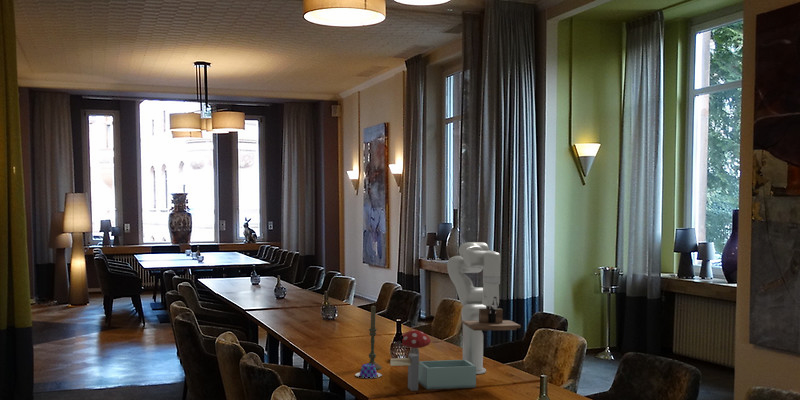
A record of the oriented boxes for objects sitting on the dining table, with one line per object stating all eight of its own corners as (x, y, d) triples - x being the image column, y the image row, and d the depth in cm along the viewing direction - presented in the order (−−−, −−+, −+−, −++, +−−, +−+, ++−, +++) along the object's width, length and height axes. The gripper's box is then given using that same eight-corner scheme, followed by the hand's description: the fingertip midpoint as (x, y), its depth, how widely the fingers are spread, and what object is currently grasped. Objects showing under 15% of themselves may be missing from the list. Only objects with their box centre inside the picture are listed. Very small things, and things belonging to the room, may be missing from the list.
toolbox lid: (462, 325, 328) (462, 307, 328) (509, 325, 333) (509, 306, 333) (471, 331, 315) (472, 311, 315) (520, 330, 319) (521, 311, 319)
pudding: (374, 380, 327) (374, 368, 327) (350, 377, 332) (350, 365, 332) (386, 375, 338) (386, 363, 338) (362, 372, 343) (362, 361, 343)
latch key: (390, 364, 311) (390, 358, 311) (417, 363, 314) (417, 357, 314) (391, 365, 308) (391, 359, 308) (419, 364, 311) (419, 358, 311)
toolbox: (402, 382, 323) (402, 349, 323) (465, 379, 330) (465, 347, 331) (411, 390, 309) (411, 356, 309) (476, 387, 316) (477, 354, 316)
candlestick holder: (381, 366, 355) (382, 303, 355) (381, 370, 346) (383, 306, 346) (362, 365, 355) (363, 303, 355) (362, 370, 346) (363, 306, 346)
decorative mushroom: (436, 360, 371) (437, 330, 371) (413, 364, 360) (413, 333, 360) (415, 355, 383) (415, 326, 383) (392, 358, 372) (392, 329, 372)
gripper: (477, 278, 332) (476, 319, 332) (489, 282, 316) (488, 325, 316) (493, 278, 333) (492, 319, 333) (505, 282, 318) (505, 325, 317)
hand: (490, 321), depth 325 cm, fingers closed on toolbox lid, 2 cm apart
